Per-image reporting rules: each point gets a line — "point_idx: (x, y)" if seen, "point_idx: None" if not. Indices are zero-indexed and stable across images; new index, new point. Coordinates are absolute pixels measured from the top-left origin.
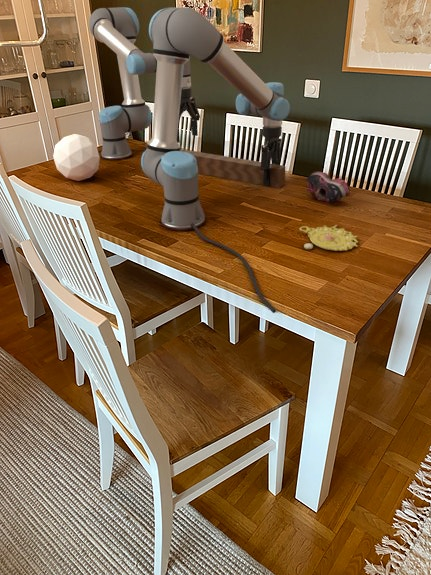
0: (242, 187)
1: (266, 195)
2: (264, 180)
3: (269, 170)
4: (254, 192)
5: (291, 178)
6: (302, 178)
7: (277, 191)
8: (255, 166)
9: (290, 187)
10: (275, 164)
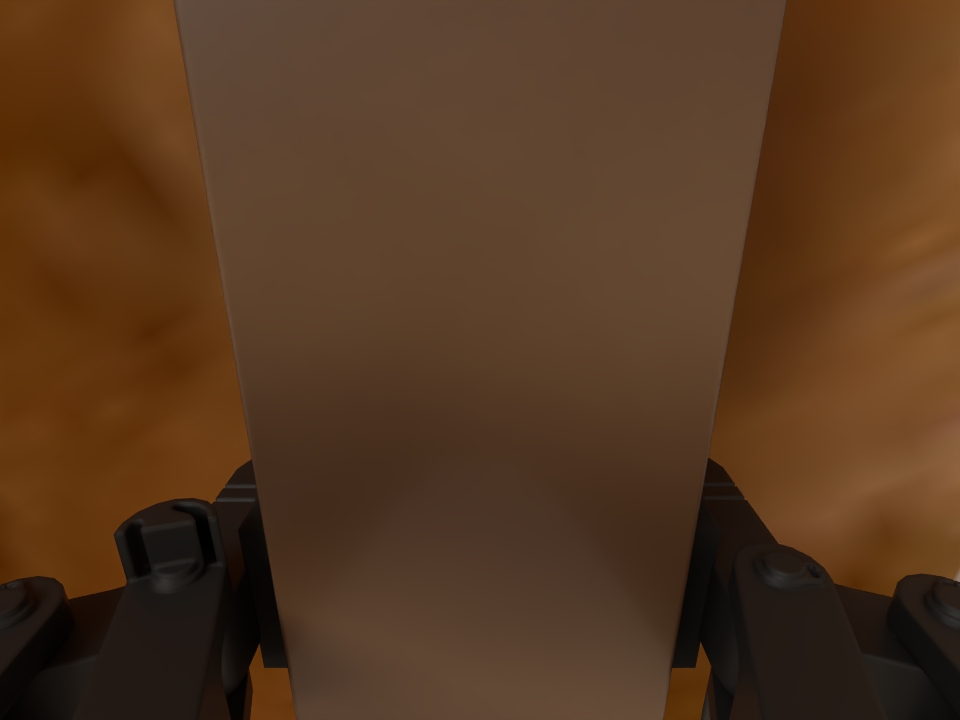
0: (60, 54)
1: (69, 545)
2: None
3: (275, 659)
4: (33, 365)
5: (850, 544)
6: None
7: None
8: (223, 234)
9: None
10: (644, 706)
